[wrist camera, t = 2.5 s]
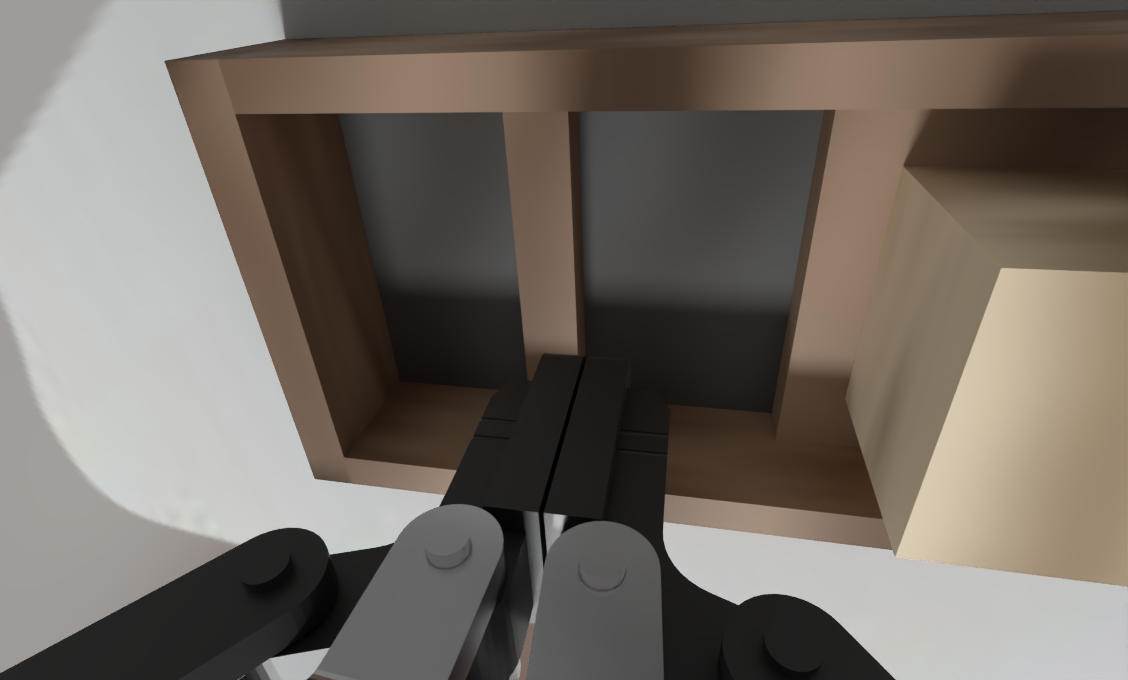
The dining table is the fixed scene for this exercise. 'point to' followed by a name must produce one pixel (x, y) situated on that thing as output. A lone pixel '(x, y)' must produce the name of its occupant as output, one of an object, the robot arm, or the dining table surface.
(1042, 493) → the oak block
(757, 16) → the dining table surface
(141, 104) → the dining table surface
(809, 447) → the track
